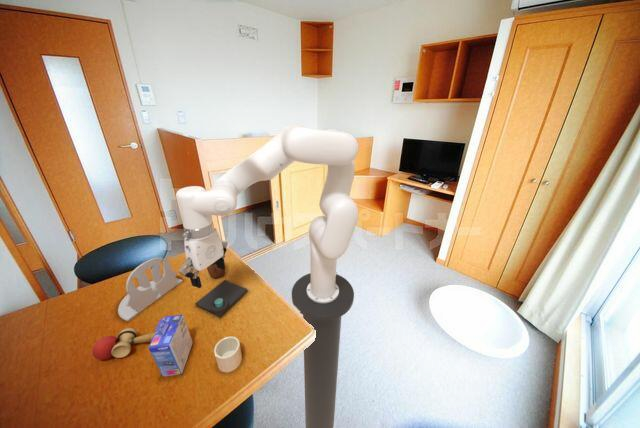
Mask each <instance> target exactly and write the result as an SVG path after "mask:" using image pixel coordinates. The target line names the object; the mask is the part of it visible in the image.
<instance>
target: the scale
mask: <svg viewBox="0 0 640 428" xmlns="http://www.w3.org/2000/svg"><path fill="white" fill-rule="evenodd" d="M248 292H249V291H248V288H246V287H244V286H240V285H238V284H236V283H234V282H230V281H228V280H226V279H224V280H223V281H221V282H220V283H219V284H217V285H216V286H215V287H214V288H212V289H211V290H210V291H209V292H208V293H206V294H205V295H204V296H202V297H201V298H200V299H199V300H198V301H196V302H195V307H197V308H198V309H202V310H203V311H205V312H207V313H209V314H211V315H214V316H216V317H218V318H222V317H223V316H225V314H226V313H227V312H228V311H229V310H231V308H232V307H233V306H235V304H237V303H238V302H239V301H240V300H241V299H242V298H243V297H244V296H245V295H246V294H247V293H248ZM218 298H222V299H223V303H224V305H223V306H222V307H220V308H216V307H215V303H214V302H215V300H216V299H218Z"/></svg>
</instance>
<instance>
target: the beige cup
mask: <svg viewBox="0 0 640 428" xmlns="http://www.w3.org/2000/svg"><path fill="white" fill-rule="evenodd" d="M213 355H214V358H215V362H216V365H217V369H218V370H219V371H220V372H221V373H231V372H233V371H235V370H236V369H237V368H239V367H240V365H241V363H242V362H243V361H242V360H243V354H242V349H241V343H240V340H239V339H238V337H235V336H233V335H232V336H229V335H228V336H226V337H222V339H220V340H218V341H217V343H216V344H215V346H214V348H213Z"/></svg>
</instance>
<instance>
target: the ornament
mask: <svg viewBox="0 0 640 428" xmlns="http://www.w3.org/2000/svg"><path fill="white" fill-rule="evenodd" d="M161 263H162V269H163V274H162V270H161ZM148 270H150V275H151V278H152V280H150V278H149V276H148V274H147V273H146V271H148ZM177 275H178V272H177V271H175V270H173V269H172V265H171V262H169V261H168V259H166V258H163V257H154V258H153V257H152V258H151V259H148V260H146V261H144V262H142V263H141V264H139V265H138V266H137V267H135V268H134V269H133V270H132V271H131V273H130V274H129V275H128V278H127V280H126V283H125V285H126V286H125V290H126V295H125V296H124V297H123V298H122V300H121V301H120V303H119V304H118V306H117V314H118V316H119V317H120V319H122V320H123V321H126V322H130V321H131V320H132V319H134V318H135V317H136V316H138V315H139V314H140V313H142V312H143V311H144V310H145V309H147V308H149V306H151V305H152V304H154V303H155V302H157V301H158V300H159V299H161V298H163V296H165V295H166V294H167V293H169V292H170V291H171V290H173V289H174V288H175V287H177V286H178V285H180V284H181V283H182V282H183V281H184V280H183V279H181V278H178V277H176V276H177ZM132 279H135V280H136V281H137V283H138V286H136V285H135V283H134V281H133V280H132Z"/></svg>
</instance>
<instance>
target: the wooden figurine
mask: <svg viewBox="0 0 640 428" xmlns="http://www.w3.org/2000/svg"><path fill="white" fill-rule="evenodd" d="M206 271H207V272H208V275H209V276H210V277H211V278H212V279H218V278H219V279H220V278H221V277H222V276H224V274H225V271H226V268H225V269H220V268H217V265H216V261H215V262H214V263H213V264H211V265H210V266H208V267H207V268H206Z"/></svg>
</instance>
